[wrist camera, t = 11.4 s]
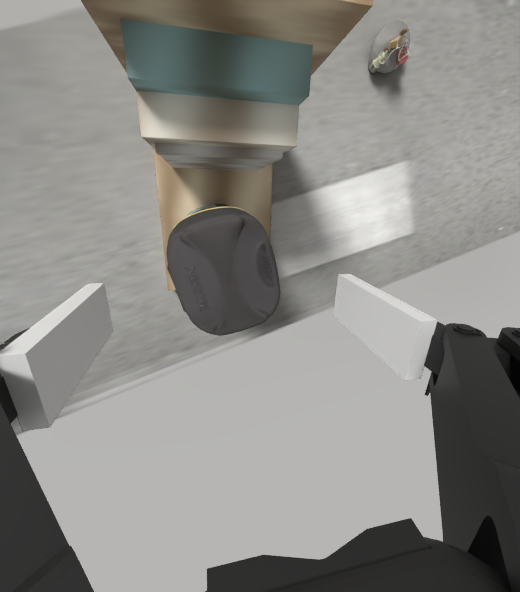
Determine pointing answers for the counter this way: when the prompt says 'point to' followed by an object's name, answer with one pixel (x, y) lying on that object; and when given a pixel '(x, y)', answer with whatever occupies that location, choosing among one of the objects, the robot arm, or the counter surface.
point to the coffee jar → (223, 269)
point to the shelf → (221, 89)
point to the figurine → (390, 48)
